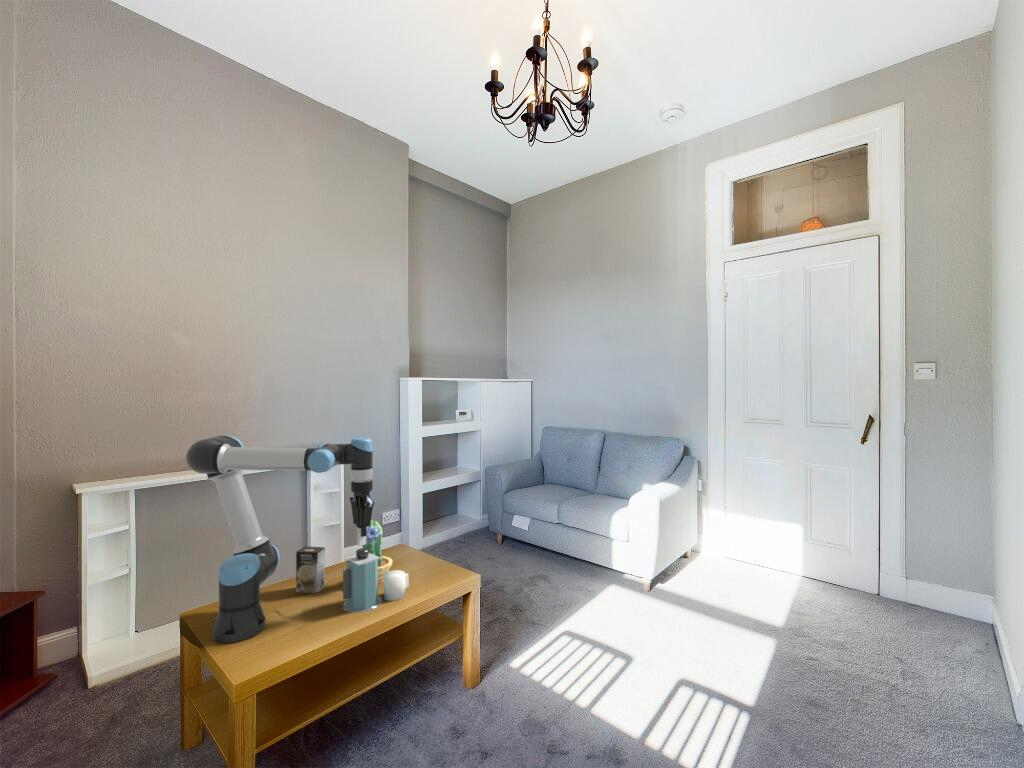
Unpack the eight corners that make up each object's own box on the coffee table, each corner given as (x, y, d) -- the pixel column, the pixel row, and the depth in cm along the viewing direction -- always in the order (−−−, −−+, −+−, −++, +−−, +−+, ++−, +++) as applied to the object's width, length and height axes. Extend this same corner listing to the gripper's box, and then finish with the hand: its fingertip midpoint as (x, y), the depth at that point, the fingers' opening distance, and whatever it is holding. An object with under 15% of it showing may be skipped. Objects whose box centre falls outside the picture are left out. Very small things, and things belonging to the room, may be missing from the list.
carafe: (351, 614, 162) (351, 567, 162) (336, 606, 168) (336, 560, 169) (382, 602, 171) (382, 557, 171) (367, 594, 178) (367, 551, 178)
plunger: (359, 601, 165) (358, 555, 166) (347, 595, 170) (347, 550, 170) (377, 594, 171) (377, 549, 171) (366, 588, 176) (366, 545, 176)
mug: (391, 605, 171) (391, 580, 171) (379, 598, 176) (379, 574, 176) (414, 595, 179) (414, 571, 179) (401, 589, 184) (401, 566, 184)
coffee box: (295, 592, 182) (294, 551, 182) (304, 585, 188) (303, 546, 188) (317, 593, 181) (317, 552, 181) (325, 586, 187) (325, 546, 187)
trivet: (355, 618, 161) (355, 616, 161) (335, 606, 170) (335, 604, 170) (390, 604, 171) (390, 601, 171) (369, 593, 181) (369, 591, 181)
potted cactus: (345, 587, 186) (345, 524, 186) (368, 572, 201) (367, 514, 201) (379, 592, 181) (378, 528, 182) (399, 576, 196) (399, 517, 196)
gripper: (380, 480, 170) (380, 545, 169) (361, 476, 178) (361, 538, 178) (362, 484, 164) (362, 551, 164) (343, 479, 173) (343, 543, 172)
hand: (361, 544), depth 171 cm, fingers closed
